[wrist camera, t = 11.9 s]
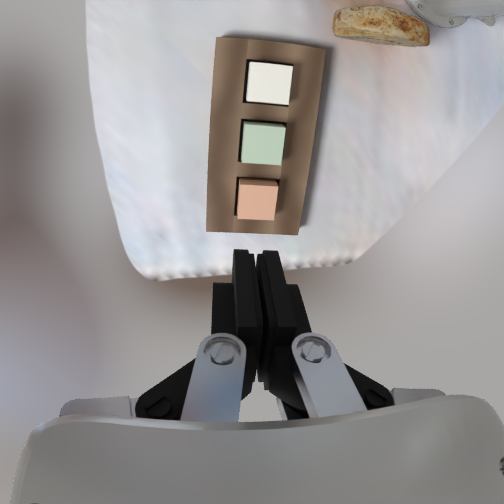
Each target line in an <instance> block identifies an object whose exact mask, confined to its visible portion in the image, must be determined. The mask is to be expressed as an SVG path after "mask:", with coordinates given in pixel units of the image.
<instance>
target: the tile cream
mask: <svg viewBox="0 0 504 504" xmlns="http://www.w3.org/2000/svg"><path fill="white" fill-rule="evenodd" d="M292 70H293V66H286V65H278V64H269V63H259V62H250V63H249V70H248V81H247V92H246V100H247V101H253V102H265V103H275V104H284V105H289V96H290V88H291V79H292Z"/></svg>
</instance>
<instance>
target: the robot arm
mask: <svg viewBox="0 0 504 504" xmlns="http://www.w3.org/2000/svg"><path fill="white" fill-rule="evenodd" d="M406 2H407V3H408V4H409V5H410V7H411V8H412V9H413V10H414V11H415V12H416V13H417V14H418V15H419V16H420V17H422V18H423V19H424V20H426V21H428V22H429V23H431V24H433V25H436V26H439V27H444V28H452V27H457V26H459V25H461V24H462V23H463V22H464V21H465V20H466V18H467V16H472V17H474V18H479V19H480V20H481V21H483V22H484V23H486V24H487V25H489V26H492V25H494V23H495V19H494V17H493V16H504V0H406ZM211 328H212V329H211V335H210V336H208V337H206V338H205V339H204V340H203V341H202V342H201V343H200V345H199V348H198V352H197V356H196V358H195V359H193V360H192V361H191V362H189V363H188V364H186V365H185V366H183V367H182V368H181V369H179V370H178V371H176V372H175V373H173V374H172V375H170V376H169V377H167V378H166V379H164V380H163V381H161V382H160V383H159V384H157V385H156V386H154V387H153V388H151V389H150V390H148V391H147V392H145V393H144V394H143V395H141V396H140V397H139V398H132V399H130V398H129V396H125V397H124V396H123V397H110V398H94V399H75V400H70V401H69V402H67V403H66V404H65V405H64V406H63V407H62V408H61V411H60V415H59V417H56V418H53V419H50V420H47V421H45V422H43V423H41V424H39V425H38V426H36V427H35V428H34V429H33V430H32V432H31V433H30V435H29V437H28V438H27V440H26V442H25V445H24V447H23V450H22V453H21V455H20V459H19V462H18V465H17V469H16V473H15V478H14V482H13V487H12V493H11V500H10V504H504V425H503V423H502V421H501V419H500V418H499V416H498V414H497V413H496V411H495V410H494V408H493V407H492V406H491V405H490V404H489V403H488V402H487V401H485V400H483V399H481V398H477V397H474V396H467V395H445V393H443V392H442V391H440V390H436V389H405V388H393V389H392V390H391V391H389V390H388V389H387V388H385V387H384V386H383V385H381V384H379V383H377V382H375V381H374V380H372V379H370V378H369V377H367V376H365V375H363V374H362V373H360V372H358V371H356V370H355V369H353V368H351V367H350V366H348V365H346V364H344V363H343V361H342V359H341V357H340V355H339V354H338V352H337V350H336V348H335V346H334V344H333V343H332V342H331V341H330V340H329V339H328V338H326V337H325V336H323V335H321V334H317V333H312V331H311V328H310V324H309V321H308V317H307V314H306V310H305V307H304V303H303V300H302V297H301V294H300V290H299V287H298V285H297V284H286V280H285V277H284V272H283V268H282V265H281V261H280V257H279V253H278V251H269V250H263V253H262V254H258V255H257V262H256V266H255V259H254V254H249V251H248V250H240V249H234V253H233V268H232V283H213V301H212V327H211ZM256 370H257V374H258V381H259V382H264V390H269V392H271V393H272V394H274V395H275V396H276V397H277V398H276V399H277V405H278V408H279V411H280V414H281V417H282V420H283V421H268V422H266V421H265V422H238V420H239V411H240V402H241V400H243V399H244V398H245V397H246V396H247V395H248V394H249V393H250V392H251V389H252V383H253V382H254V381H255V376H256Z"/></svg>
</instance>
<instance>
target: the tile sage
mask: <svg viewBox="0 0 504 504" xmlns="http://www.w3.org/2000/svg"><path fill="white" fill-rule="evenodd" d="M285 130H286V128H285V127H284V126H283V125H282V124H275V123H264V122H251V121H244V127H243V139H242V151H241V160H242V163H254V164H269V165H281V162H282V154H283V146H284V138H285Z"/></svg>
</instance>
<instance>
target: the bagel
mask: <svg viewBox="0 0 504 504" xmlns="http://www.w3.org/2000/svg"><path fill="white" fill-rule="evenodd" d="M333 33H334V35H335V36H337V37H340V38H345V39H352V40H358V41H365V42H371V43H377V44H386V45H400V46H407V47H416V46H428V45H429V43H430V35H429V28H428V26H427V24H426V23H425V22H424V21H421V20H419V19H418V18H416V17H414V16H411V15H408V14H406V13H402V12H400V11H398V10H395V9H392V8H388V7H384V6H375V5H373V6H366V7H353V8H343V9H340V10H337V11H336V12H335V15H334V19H333Z"/></svg>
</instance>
